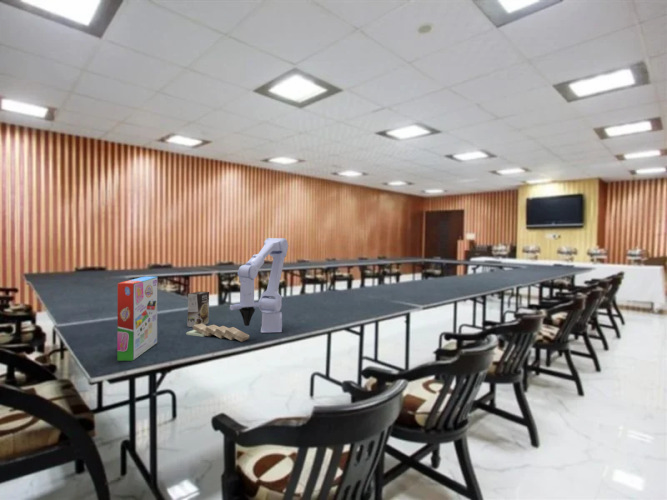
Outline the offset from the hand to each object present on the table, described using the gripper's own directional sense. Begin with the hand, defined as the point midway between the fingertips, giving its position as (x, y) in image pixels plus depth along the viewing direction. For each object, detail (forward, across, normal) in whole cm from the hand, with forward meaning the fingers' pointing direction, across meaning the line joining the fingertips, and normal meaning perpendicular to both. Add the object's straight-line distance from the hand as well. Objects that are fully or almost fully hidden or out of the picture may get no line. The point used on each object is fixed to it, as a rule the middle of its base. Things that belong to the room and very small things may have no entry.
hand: (246, 325), depth 151 cm
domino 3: (+6, +6, -9) cm, 12 cm away
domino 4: (+6, +3, -4) cm, 8 cm away
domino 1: (+6, +11, -17) cm, 21 cm away
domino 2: (+5, +10, -14) cm, 18 cm away
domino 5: (+6, 0, 0) cm, 6 cm away
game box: (+7, +40, -8) cm, 41 cm away
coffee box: (+7, +9, -37) cm, 39 cm away
